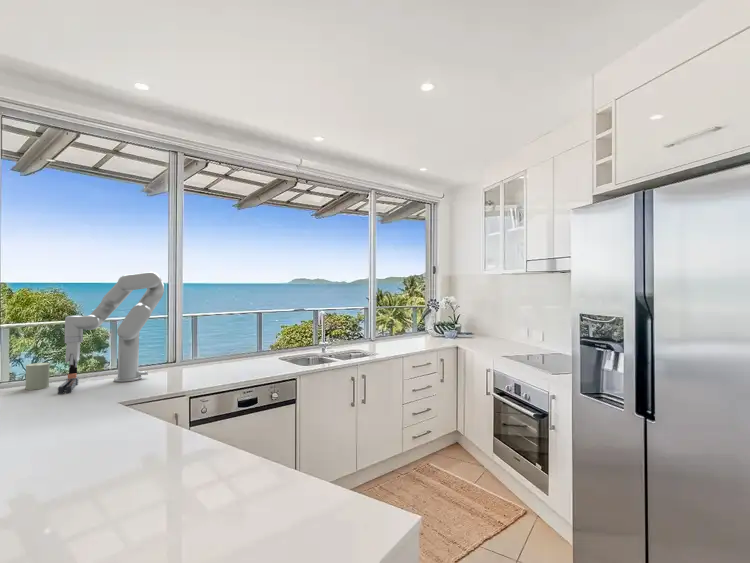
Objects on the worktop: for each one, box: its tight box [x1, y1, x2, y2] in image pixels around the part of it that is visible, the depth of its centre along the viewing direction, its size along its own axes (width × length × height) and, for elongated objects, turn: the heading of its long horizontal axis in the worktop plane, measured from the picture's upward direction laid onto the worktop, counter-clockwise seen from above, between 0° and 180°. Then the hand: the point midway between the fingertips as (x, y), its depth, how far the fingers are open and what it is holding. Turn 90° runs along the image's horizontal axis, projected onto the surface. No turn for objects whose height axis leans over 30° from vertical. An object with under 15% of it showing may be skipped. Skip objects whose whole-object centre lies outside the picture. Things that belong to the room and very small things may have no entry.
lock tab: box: [67, 372, 78, 379], centre depth 205 cm, size 2×3×2 cm
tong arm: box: [57, 380, 71, 395], centre depth 194 cm, size 18×2×3 cm, turn 27°
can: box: [24, 362, 51, 391], centre depth 200 cm, size 9×9×12 cm
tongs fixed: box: [65, 376, 79, 394], centre depth 197 cm, size 23×5×3 cm, turn 30°
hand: (72, 375), depth 207 cm, fingers closed
